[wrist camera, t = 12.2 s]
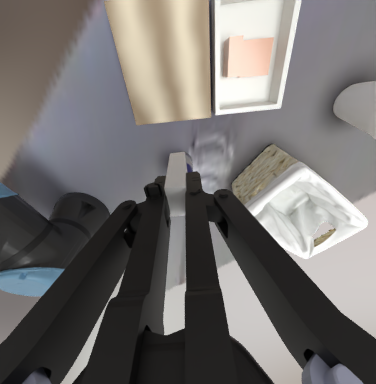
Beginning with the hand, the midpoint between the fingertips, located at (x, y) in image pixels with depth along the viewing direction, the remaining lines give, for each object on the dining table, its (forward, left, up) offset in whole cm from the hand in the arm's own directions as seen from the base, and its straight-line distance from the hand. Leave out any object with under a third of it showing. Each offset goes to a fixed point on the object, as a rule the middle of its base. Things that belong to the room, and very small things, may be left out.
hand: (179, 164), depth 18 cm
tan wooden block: (-2, +9, -23) cm, 25 cm away
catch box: (+12, +9, -23) cm, 27 cm away
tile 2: (+8, +9, -20) cm, 23 cm away
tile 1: (+13, +9, -20) cm, 26 cm away
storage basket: (+23, -20, -23) cm, 38 cm away
